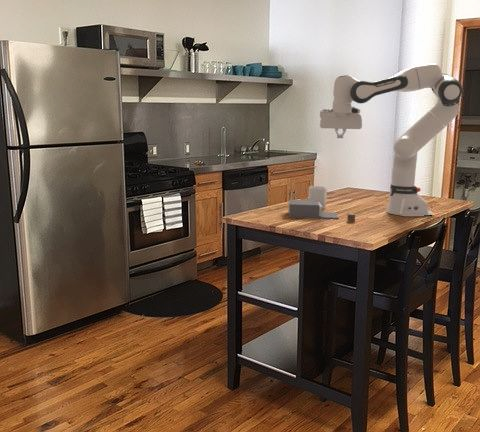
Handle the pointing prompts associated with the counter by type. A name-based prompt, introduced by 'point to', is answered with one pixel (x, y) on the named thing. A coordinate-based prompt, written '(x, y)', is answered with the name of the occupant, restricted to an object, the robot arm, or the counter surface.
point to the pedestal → (351, 217)
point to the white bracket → (320, 209)
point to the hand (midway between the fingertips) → (340, 138)
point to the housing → (308, 210)
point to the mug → (318, 194)
